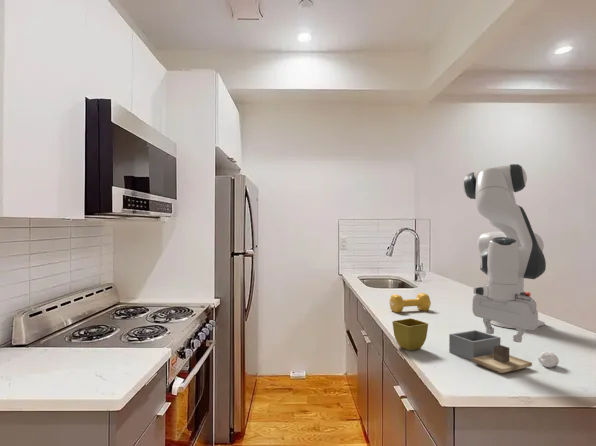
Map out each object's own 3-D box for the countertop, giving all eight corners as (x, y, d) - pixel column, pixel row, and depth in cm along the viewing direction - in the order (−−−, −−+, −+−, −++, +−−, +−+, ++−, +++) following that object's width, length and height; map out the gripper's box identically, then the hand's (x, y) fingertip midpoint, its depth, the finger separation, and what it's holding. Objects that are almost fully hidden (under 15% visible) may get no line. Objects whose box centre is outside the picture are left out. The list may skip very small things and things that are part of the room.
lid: (501, 359, 134) (501, 339, 134) (531, 370, 125) (531, 349, 125) (472, 365, 129) (472, 344, 129) (502, 376, 119) (502, 355, 119)
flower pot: (409, 353, 139) (409, 326, 139) (391, 346, 146) (391, 320, 146) (428, 349, 143) (429, 323, 143) (410, 343, 151) (410, 318, 150)
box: (475, 347, 145) (475, 330, 145) (500, 356, 136) (500, 337, 136) (449, 352, 140) (449, 334, 140) (473, 361, 131) (473, 342, 131)
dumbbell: (422, 308, 210) (422, 291, 210) (432, 312, 201) (432, 295, 201) (387, 310, 205) (387, 293, 205) (396, 314, 196) (396, 296, 196)
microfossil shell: (550, 354, 124) (562, 353, 126) (533, 349, 129) (545, 348, 131) (549, 369, 124) (561, 368, 126) (533, 364, 129) (545, 363, 131)
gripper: (543, 296, 118) (543, 345, 119) (483, 285, 137) (483, 328, 137) (528, 299, 116) (528, 349, 116) (469, 287, 134) (469, 330, 134)
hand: (503, 337), depth 127 cm, fingers open, 8 cm apart
